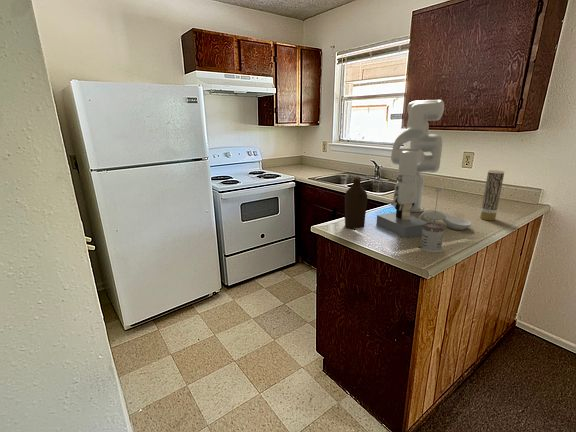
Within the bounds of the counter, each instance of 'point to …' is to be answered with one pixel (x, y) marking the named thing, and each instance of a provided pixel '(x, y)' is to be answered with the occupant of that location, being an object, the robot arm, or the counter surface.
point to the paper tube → (492, 194)
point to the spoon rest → (452, 221)
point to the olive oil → (355, 205)
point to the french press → (431, 238)
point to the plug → (405, 212)
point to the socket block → (401, 225)
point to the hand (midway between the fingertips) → (402, 217)
